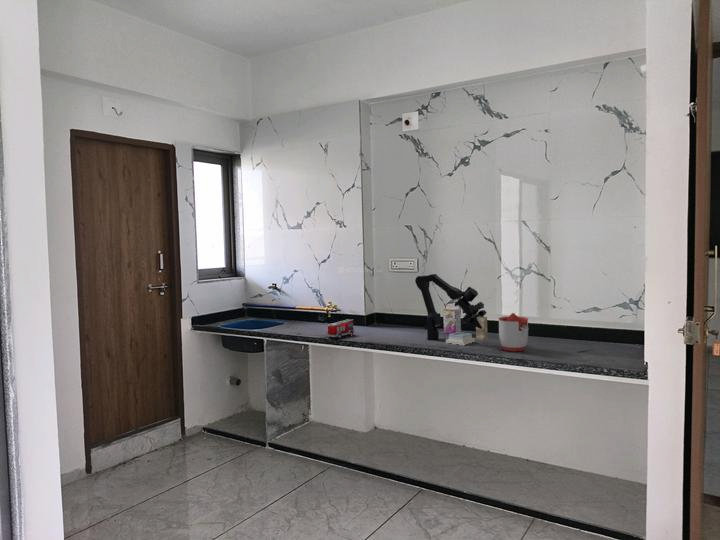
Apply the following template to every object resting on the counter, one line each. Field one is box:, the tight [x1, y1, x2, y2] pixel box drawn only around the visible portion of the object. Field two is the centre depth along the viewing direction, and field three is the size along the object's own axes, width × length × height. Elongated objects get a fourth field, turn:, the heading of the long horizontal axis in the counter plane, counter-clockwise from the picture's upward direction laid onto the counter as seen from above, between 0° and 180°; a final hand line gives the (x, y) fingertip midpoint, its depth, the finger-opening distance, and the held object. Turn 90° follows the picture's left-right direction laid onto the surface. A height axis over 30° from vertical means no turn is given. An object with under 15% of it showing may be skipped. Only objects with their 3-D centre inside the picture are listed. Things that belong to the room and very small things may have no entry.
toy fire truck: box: [326, 318, 356, 339], centre depth 352 cm, size 9×19×10 cm, turn 136°
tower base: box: [445, 331, 476, 346], centre depth 321 cm, size 12×12×5 cm
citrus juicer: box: [498, 312, 529, 353], centre depth 297 cm, size 16×17×20 cm
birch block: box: [475, 316, 488, 341], centre depth 311 cm, size 4×4×12 cm
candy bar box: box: [442, 307, 462, 335], centre depth 348 cm, size 11×5×16 cm, turn 35°
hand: (483, 327), depth 310 cm, fingers closed on birch block, 4 cm apart
